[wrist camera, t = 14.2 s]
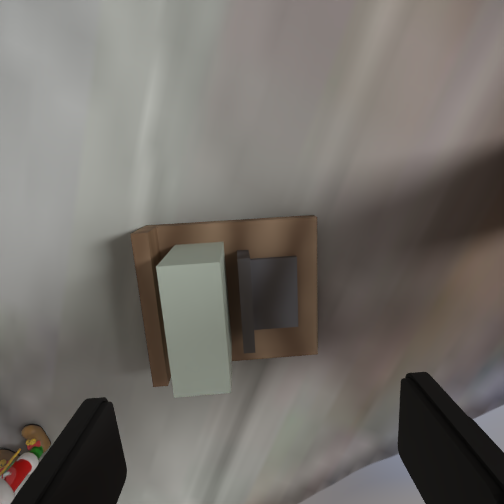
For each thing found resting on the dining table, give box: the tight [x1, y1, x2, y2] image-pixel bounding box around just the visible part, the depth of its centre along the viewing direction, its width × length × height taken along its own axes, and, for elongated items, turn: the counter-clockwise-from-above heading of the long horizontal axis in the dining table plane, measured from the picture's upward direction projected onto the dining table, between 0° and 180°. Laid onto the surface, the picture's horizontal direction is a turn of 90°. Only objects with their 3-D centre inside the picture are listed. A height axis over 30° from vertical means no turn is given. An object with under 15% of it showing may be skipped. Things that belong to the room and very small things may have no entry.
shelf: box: [130, 215, 318, 387], centre depth 33 cm, size 18×16×5 cm
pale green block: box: [156, 242, 232, 398], centre depth 30 cm, size 5×12×8 cm, turn 3°
